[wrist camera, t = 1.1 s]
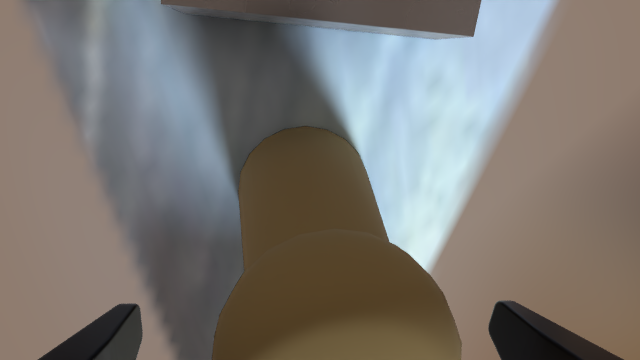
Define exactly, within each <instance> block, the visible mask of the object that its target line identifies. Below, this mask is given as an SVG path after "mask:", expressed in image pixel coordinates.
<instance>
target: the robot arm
mask: <svg viewBox="0 0 640 360" xmlns="http://www.w3.org/2000/svg"><path fill="white" fill-rule="evenodd" d="M489 334H490V337H491V339H492V341H493V343H494V345H495V347H496V349H497V352H498V354H499V356H500V358H501V360H623V359H622V358H620V357H618V356H616V355H614V354H612V353H610V352H608V351H606V350H604V349H603V348H601V347H599V346H597V345H595V344H593V343H591V342H589V341H588V340H586V339H584V338H582V337H580V336H578V335H576V334H575V333H573V332H571V331H569V330H567V329H565V328H563V327H561V326H559V325H558V324H556V323H554V322H552V321H550V320H548V319H546V318H545V317H543V316H541V315H539V314H537V313H535V312H533V311H531V310H529V309H527V308H526V307H524V306H522V305H520V304H518V303H516V302H514V301H498V302H497V303H496V304H495V306H494V309H493V312H492V315H491V319H490V322H489ZM141 341H142V323H141V313H140V308H139V306H138V305H137V304H119V305H117V306H115V307H114V308H112V309H111V310H109V311H108V312H106V313H105V314H103V315H102V316H101V317H99V318H98V319H96V320H95V321H93V322H92V323H90V324H89V325H87V326H86V327H85V328H83V329H82V330H80V331H79V332H77V333H76V334H74V335H73V336H72V337H70V338H68V339H67V340H66V341H64V342H63V343H61V344H60V345H58V346H57V347H55V348H54V349H53V350H51V351H50V352H48V353H47V354H45V355H44V356H42V357H41V358H39V359H38V360H136V357H137V354H138V351H139V347H140V344H141Z"/></svg>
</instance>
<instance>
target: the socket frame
mask: <svg viewBox="0 0 640 360" xmlns="http://www.w3.org/2000/svg"><path fill="white" fill-rule="evenodd" d="M161 4H163V5H165V6H167V7H170V8H172V9H175V10H177V11H180V12H182V13H185V14H191V15H201V16H211V17H220V18H230V19H240V20H250V21H260V22H270V23H279V24H289V25H299V26H309V27H319V28H328V29H338V30H348V31H358V32H368V33H378V34H387V35H397V36H407V37H417V38H427V39H448V38H461V37H473V36H474V32H475V27H476V22H477V18H478V13H479V9H480V4H481V0H161Z"/></svg>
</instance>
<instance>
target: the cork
mask: <svg viewBox="0 0 640 360" xmlns="http://www.w3.org/2000/svg"><path fill="white" fill-rule="evenodd" d="M238 194H239V208H240V221H241V234H242V247H243V260H244V273H243V274H242V276H241V277H240V279H239V281H238V282H237V284H236V285H235V287H234V289H233V291H232V293H231V295H230V296H229V298H228V300H227V302H226V304H225V306H224V307H223V309H222V311H221V313H220V315H219V319H218V323H217V327H216V332H215V336H214V344H213V353H212V360H461V347H462V343H461V339H460V336H459V333H458V330H457V326H456V323H455V320H454V318H453V315H452V313H451V311H450V308H449V306H448V303H447V301H446V299H445V296H444V294H443V292H442V291H441V289H440V288H439V287H438V285H437V284H436V282H435V281H434V280H433V278H432V277H431V276H430V275H429V274H428V273H427V272H426V271H425V270H424V269H423V268H422V267H421V266H420V265H419V264H418V263H417V262H416V261H415V260H414V259H413V258H412V257H411V256H410V255H409V254H408V253H406V252H405V251H403V250H402V249H400V248H399V247H398V246H396V245H394V244H392V243H390V242H389V240H388V236H387V233H386V230H385V227H384V224H383V221H382V218H381V215H380V212H379V209H378V206H377V202H376V199H375V196H374V193H373V190H372V187H371V184H370V181H369V178H368V175H367V172H366V169H365V167H364V165H363V162H362V160H361V158H360V156H359V154H358V152H357V151H356V150H355V149H354V148H353V147H352V146H351V145H350V144H349V143H348V142H347V141H346V140H345V139H344V138H342V137H340V136H338V135H336V134H334V133H332V132H330V131H328V130H326V129H320V128H314V127H308V126H303V127H296V128H290V129H284V130H282V131H280V132H278V133H276V134H274V135H272V136H270V137H268V138H266V139H264V140H263V141H262V142H261V143H260V144H259V145H258V146H257V147H256V148H255V149H254V150H253V151H252V152H251V153H250V154H249V156H248V158H247V160H246V162H245V164H244V166H243V168H242V170H241V173H240V181H239V189H238Z"/></svg>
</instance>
